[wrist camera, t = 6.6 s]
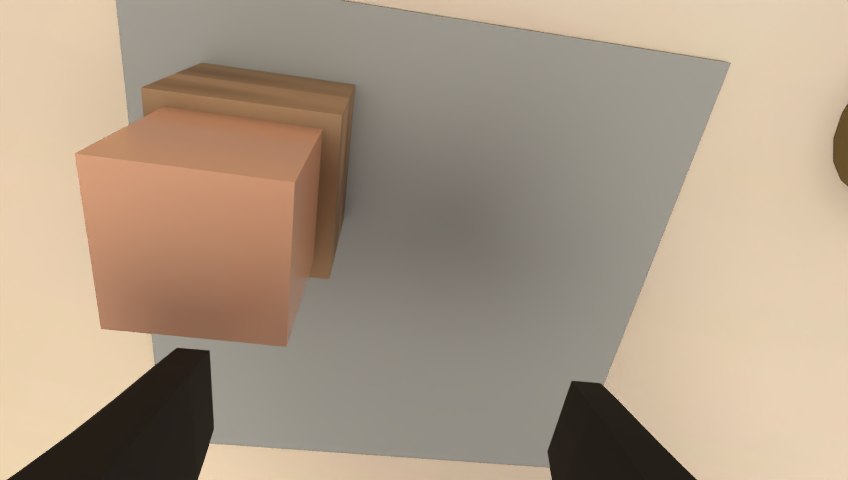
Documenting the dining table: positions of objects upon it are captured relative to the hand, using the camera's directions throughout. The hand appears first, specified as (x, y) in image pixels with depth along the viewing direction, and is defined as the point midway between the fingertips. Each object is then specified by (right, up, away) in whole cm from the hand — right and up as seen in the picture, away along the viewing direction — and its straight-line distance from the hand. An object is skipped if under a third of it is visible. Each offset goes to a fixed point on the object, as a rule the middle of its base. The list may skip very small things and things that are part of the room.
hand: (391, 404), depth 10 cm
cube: (-4, +5, +4) cm, 7 cm away
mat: (0, +2, +11) cm, 11 cm away
